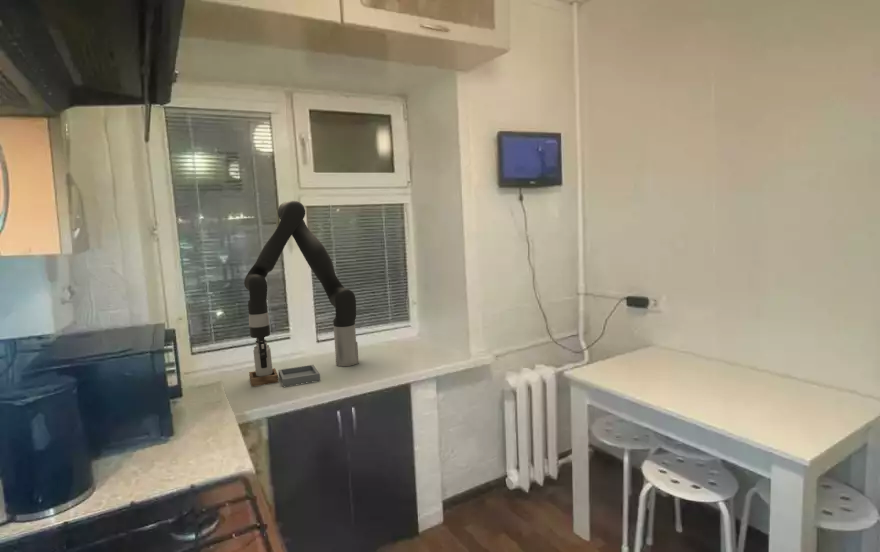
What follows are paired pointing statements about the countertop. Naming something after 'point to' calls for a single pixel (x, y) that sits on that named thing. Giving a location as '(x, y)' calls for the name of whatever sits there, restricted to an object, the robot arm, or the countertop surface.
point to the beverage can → (260, 371)
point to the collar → (263, 378)
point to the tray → (298, 375)
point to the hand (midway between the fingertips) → (263, 365)
